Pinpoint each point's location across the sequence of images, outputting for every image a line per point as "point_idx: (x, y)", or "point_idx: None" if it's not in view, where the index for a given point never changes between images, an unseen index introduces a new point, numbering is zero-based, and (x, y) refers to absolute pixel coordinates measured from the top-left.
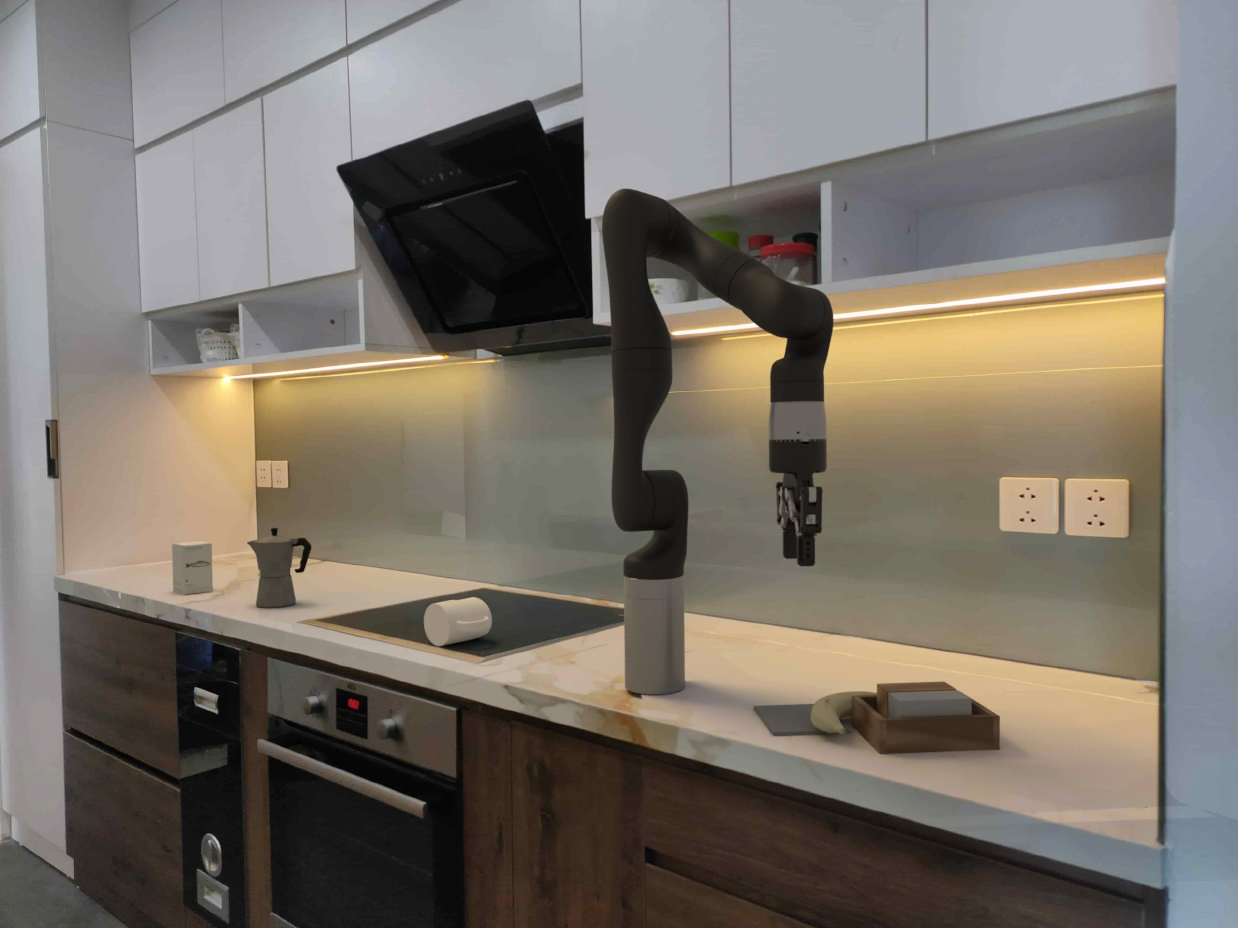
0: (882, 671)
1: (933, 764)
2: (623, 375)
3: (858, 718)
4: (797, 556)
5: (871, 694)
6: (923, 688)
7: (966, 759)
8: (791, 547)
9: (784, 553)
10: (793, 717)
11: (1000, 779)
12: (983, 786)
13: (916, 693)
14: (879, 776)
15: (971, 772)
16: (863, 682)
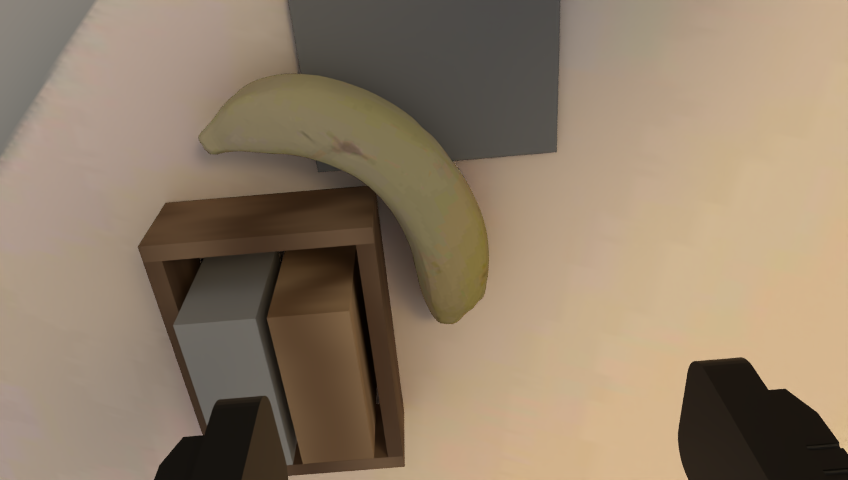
0: (839, 362)
1: (116, 292)
2: None
3: (317, 207)
4: (226, 446)
5: (441, 282)
6: (305, 403)
7: (161, 357)
8: (725, 477)
9: (709, 384)
10: (427, 33)
11: (58, 378)
12: (9, 342)
13: (254, 378)
14: (5, 164)
15: (84, 344)
16: (754, 297)
